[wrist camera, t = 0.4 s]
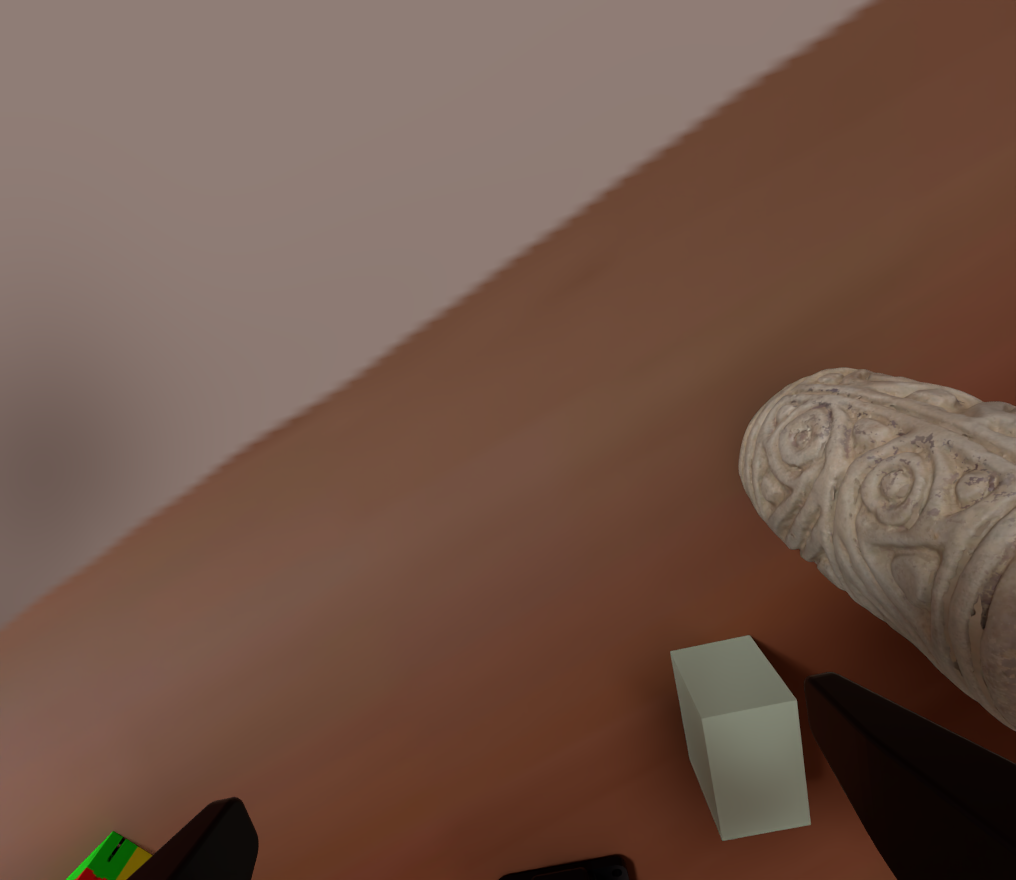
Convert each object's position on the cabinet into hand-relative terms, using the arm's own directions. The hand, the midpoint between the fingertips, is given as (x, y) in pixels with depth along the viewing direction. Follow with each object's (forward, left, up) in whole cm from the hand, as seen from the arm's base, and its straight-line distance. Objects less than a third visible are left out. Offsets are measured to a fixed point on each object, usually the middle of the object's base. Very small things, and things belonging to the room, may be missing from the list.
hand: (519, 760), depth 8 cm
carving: (-2, -12, -14) cm, 18 cm away
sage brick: (-12, -7, -14) cm, 20 cm away
